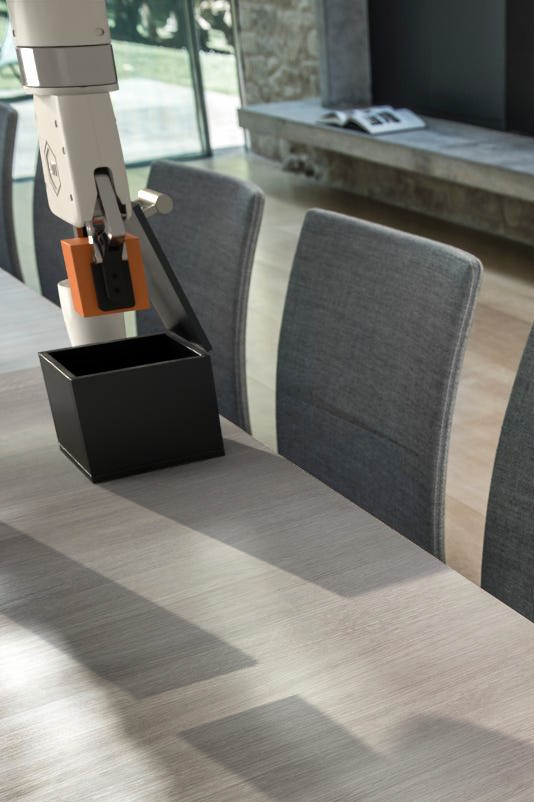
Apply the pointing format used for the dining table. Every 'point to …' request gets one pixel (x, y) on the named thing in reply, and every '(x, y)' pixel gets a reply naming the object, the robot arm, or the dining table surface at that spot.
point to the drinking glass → (89, 322)
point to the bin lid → (163, 271)
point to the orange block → (82, 279)
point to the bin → (133, 404)
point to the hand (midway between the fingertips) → (110, 302)
